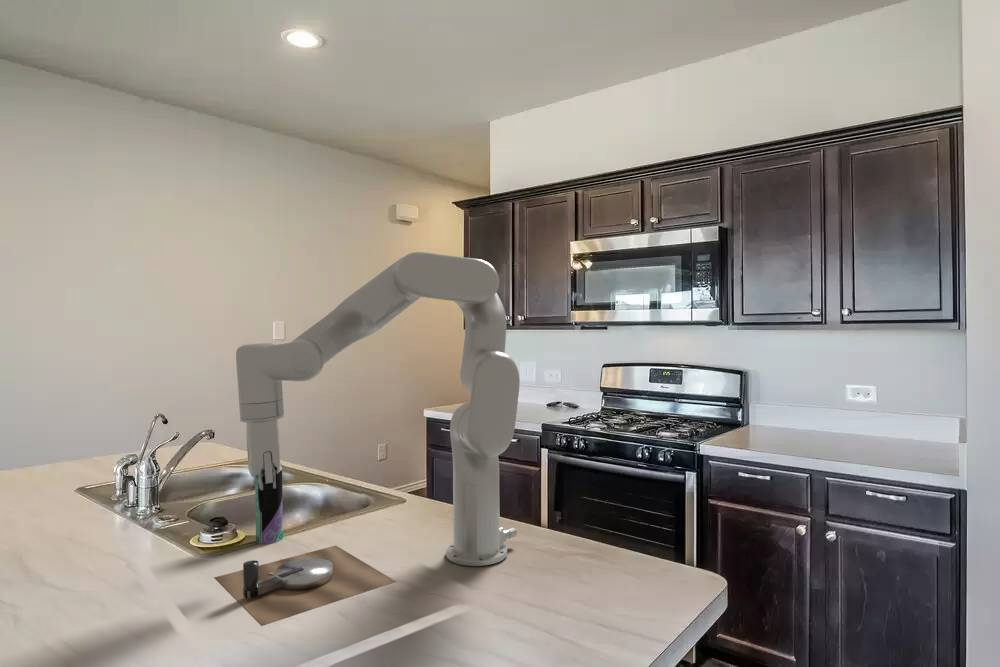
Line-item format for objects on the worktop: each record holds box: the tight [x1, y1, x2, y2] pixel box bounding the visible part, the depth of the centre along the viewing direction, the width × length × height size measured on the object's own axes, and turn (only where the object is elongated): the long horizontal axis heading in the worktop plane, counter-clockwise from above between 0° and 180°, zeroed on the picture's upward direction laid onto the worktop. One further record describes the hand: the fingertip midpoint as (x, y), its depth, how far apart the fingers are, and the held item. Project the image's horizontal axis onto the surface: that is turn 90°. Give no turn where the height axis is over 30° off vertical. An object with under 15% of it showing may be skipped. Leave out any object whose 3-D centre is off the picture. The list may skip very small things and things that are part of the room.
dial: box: [242, 558, 333, 599], centre depth 109 cm, size 16×10×6 cm, turn 139°
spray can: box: [254, 462, 284, 545], centre depth 132 cm, size 6×6×20 cm
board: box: [214, 545, 397, 627], centre depth 111 cm, size 24×24×2 cm
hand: (268, 509), depth 113 cm, fingers closed
